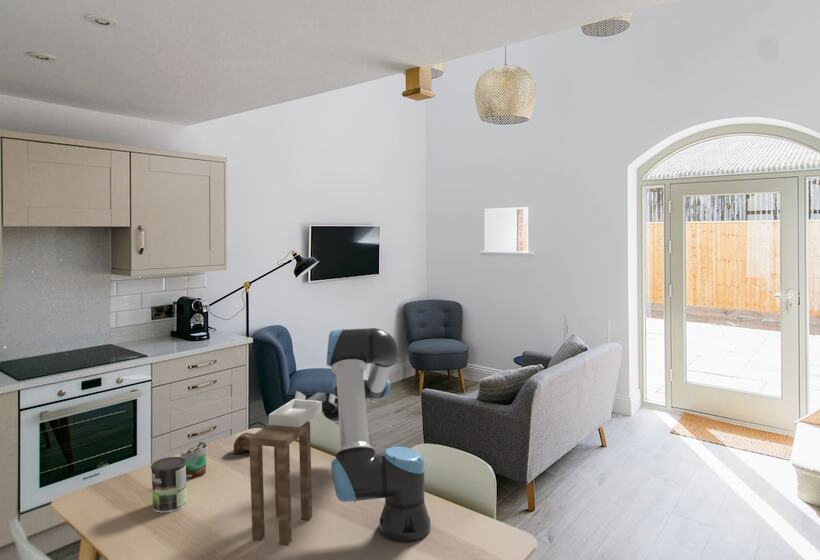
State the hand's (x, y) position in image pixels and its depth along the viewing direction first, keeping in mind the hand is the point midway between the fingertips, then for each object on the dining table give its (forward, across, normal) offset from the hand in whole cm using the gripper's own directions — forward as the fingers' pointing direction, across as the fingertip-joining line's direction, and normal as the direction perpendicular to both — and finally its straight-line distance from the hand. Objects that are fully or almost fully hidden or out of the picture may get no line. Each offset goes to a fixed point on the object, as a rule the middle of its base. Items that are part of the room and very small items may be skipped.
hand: (313, 396), depth 177 cm
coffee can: (-1, +42, -38) cm, 57 cm away
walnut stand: (+2, 0, -40) cm, 40 cm away
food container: (-20, +48, -27) cm, 59 cm away
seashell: (-40, +42, -16) cm, 60 cm away
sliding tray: (+4, 0, -6) cm, 7 cm away
